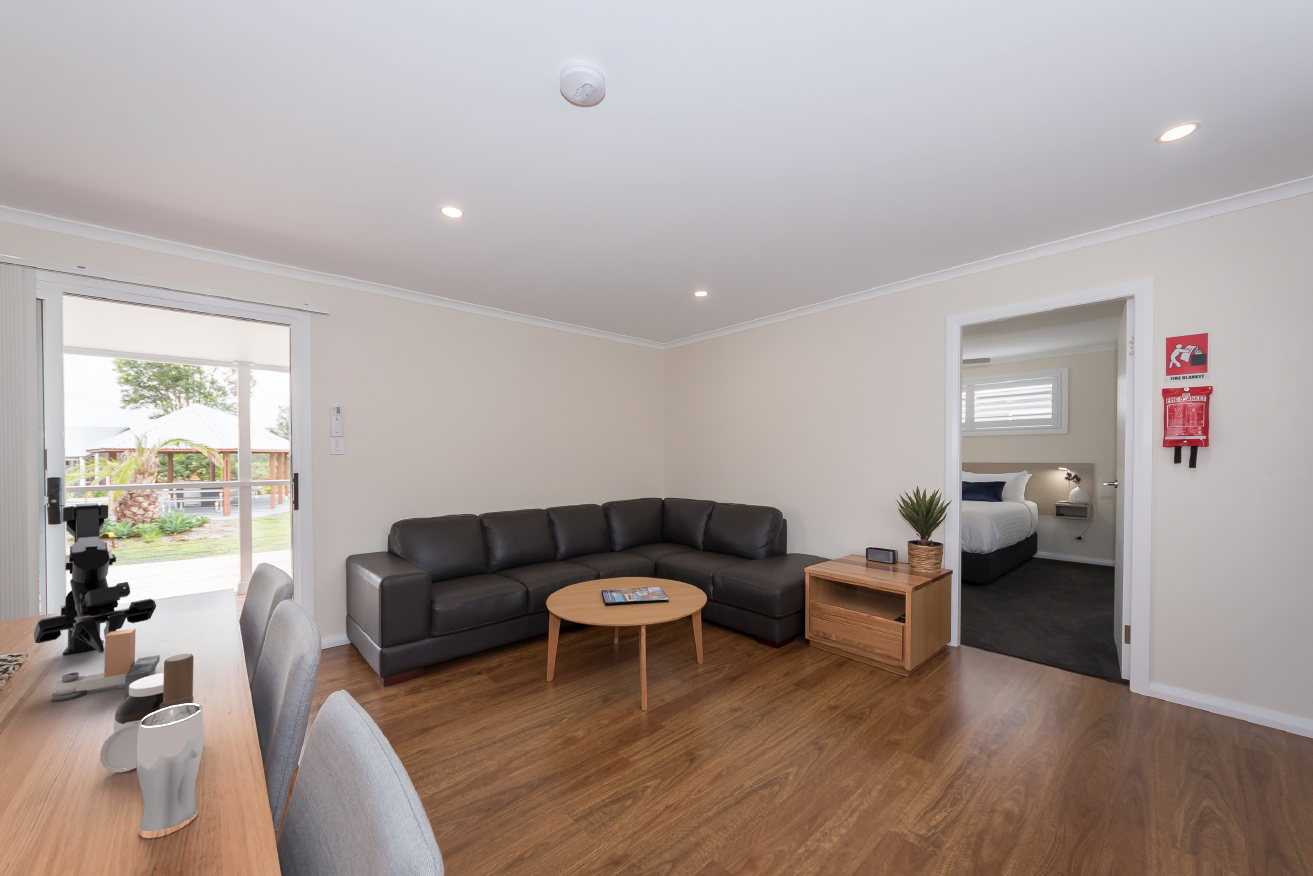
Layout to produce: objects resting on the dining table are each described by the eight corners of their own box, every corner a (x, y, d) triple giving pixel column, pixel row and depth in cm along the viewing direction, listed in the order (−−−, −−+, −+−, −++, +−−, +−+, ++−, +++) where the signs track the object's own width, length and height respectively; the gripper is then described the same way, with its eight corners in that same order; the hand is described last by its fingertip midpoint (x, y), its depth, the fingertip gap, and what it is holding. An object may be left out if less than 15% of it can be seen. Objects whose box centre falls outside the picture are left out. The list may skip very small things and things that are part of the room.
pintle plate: (54, 695, 110) (55, 674, 110) (89, 688, 113) (90, 667, 114) (48, 704, 106) (49, 682, 106) (84, 696, 110) (85, 675, 110)
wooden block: (157, 800, 78) (160, 678, 78) (161, 767, 86) (163, 656, 86) (190, 789, 80) (192, 671, 80) (191, 758, 88) (193, 650, 88)
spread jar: (188, 727, 98) (189, 665, 98) (201, 750, 91) (203, 682, 91) (94, 757, 88) (96, 687, 89) (101, 784, 81) (102, 708, 82)
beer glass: (213, 812, 75) (216, 707, 75) (154, 847, 68) (156, 731, 69) (182, 801, 77) (184, 699, 78) (121, 834, 71) (124, 722, 71)
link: (51, 696, 107) (53, 643, 107) (60, 688, 111) (62, 637, 111) (150, 679, 115) (152, 630, 115) (156, 673, 118) (157, 625, 119)
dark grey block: (125, 700, 108) (125, 675, 108) (137, 681, 117) (138, 658, 117) (148, 695, 110) (148, 671, 110) (159, 677, 119) (159, 655, 119)
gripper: (38, 582, 112) (51, 644, 107) (154, 565, 129) (171, 618, 123) (28, 612, 116) (40, 674, 111) (141, 592, 132) (157, 645, 127)
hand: (106, 651), depth 118 cm, fingers closed
